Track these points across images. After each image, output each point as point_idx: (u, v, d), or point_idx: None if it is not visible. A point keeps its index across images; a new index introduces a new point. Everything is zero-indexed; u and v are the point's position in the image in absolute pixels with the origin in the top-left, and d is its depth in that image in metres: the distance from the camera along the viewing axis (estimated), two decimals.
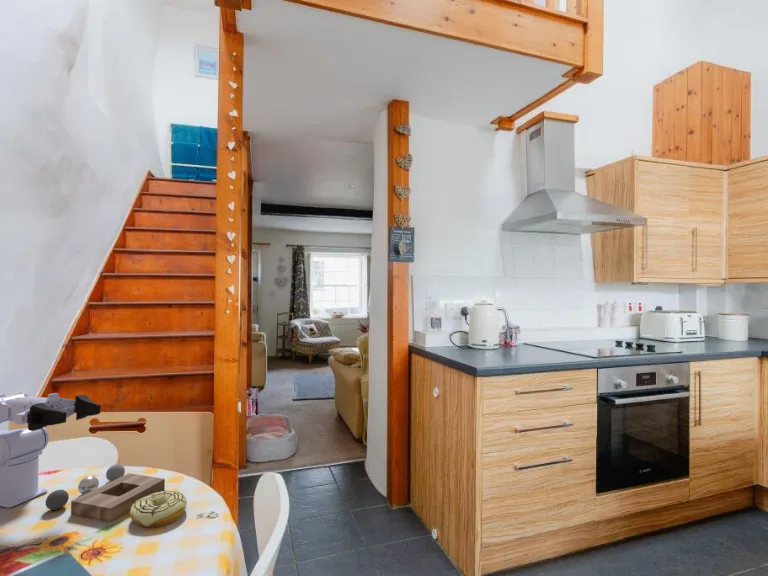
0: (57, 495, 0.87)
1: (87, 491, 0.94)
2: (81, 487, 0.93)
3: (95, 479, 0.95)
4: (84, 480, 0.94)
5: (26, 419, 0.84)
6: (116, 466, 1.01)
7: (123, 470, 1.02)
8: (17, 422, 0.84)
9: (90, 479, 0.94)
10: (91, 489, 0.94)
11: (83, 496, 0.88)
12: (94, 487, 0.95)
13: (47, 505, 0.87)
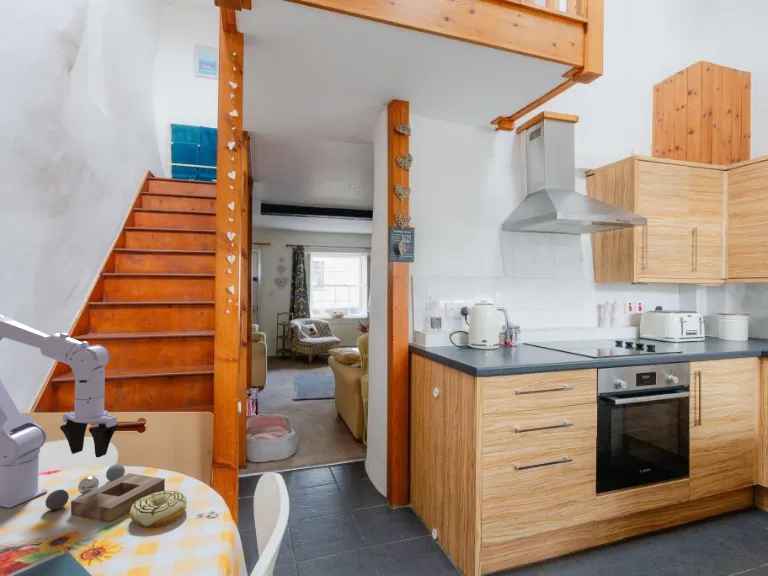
0: (57, 495, 0.87)
1: (87, 491, 0.94)
2: (81, 487, 0.93)
3: (95, 479, 0.95)
4: (84, 480, 0.94)
5: None
6: (116, 466, 1.01)
7: (123, 470, 1.02)
8: (110, 422, 0.93)
9: (90, 479, 0.94)
10: (91, 489, 0.94)
11: (83, 496, 0.88)
12: (94, 487, 0.95)
13: (47, 505, 0.87)
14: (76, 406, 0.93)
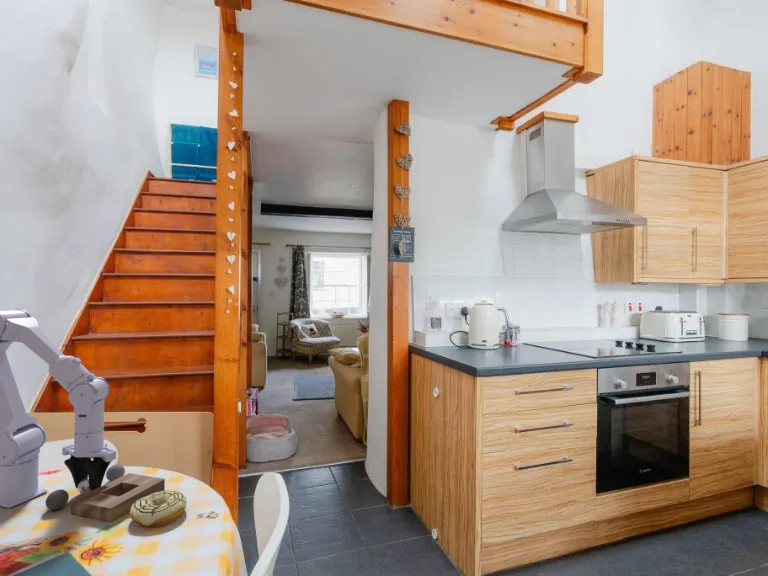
0: (57, 495, 0.87)
1: (87, 491, 0.94)
2: (81, 487, 0.93)
3: None
4: (84, 480, 0.94)
5: None
6: (116, 466, 1.01)
7: (123, 470, 1.02)
8: (109, 456, 0.93)
9: None
10: None
11: (83, 496, 0.88)
12: None
13: (47, 505, 0.87)
14: (75, 441, 0.93)
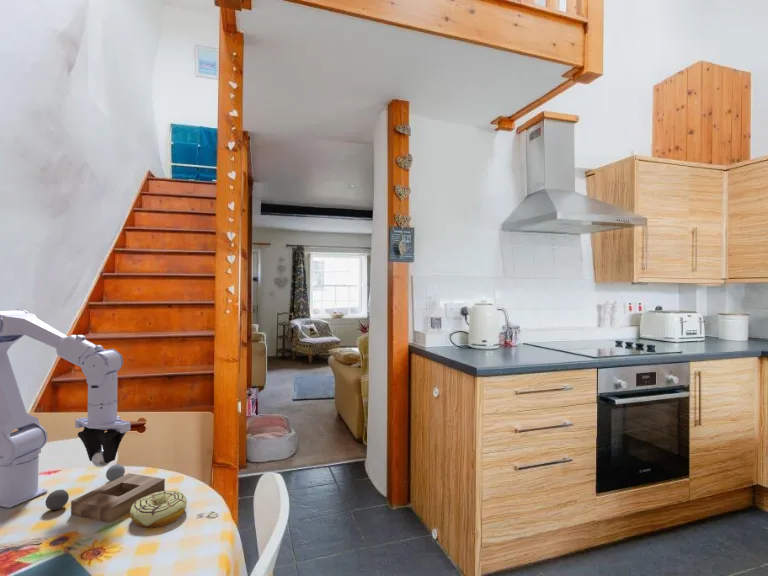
0: (57, 495, 0.87)
1: (101, 463, 0.92)
2: (95, 459, 0.92)
3: None
4: (98, 452, 0.93)
5: None
6: (116, 466, 1.01)
7: (123, 470, 1.02)
8: (124, 427, 0.91)
9: None
10: None
11: (83, 496, 0.88)
12: None
13: (47, 505, 0.87)
14: (89, 412, 0.91)
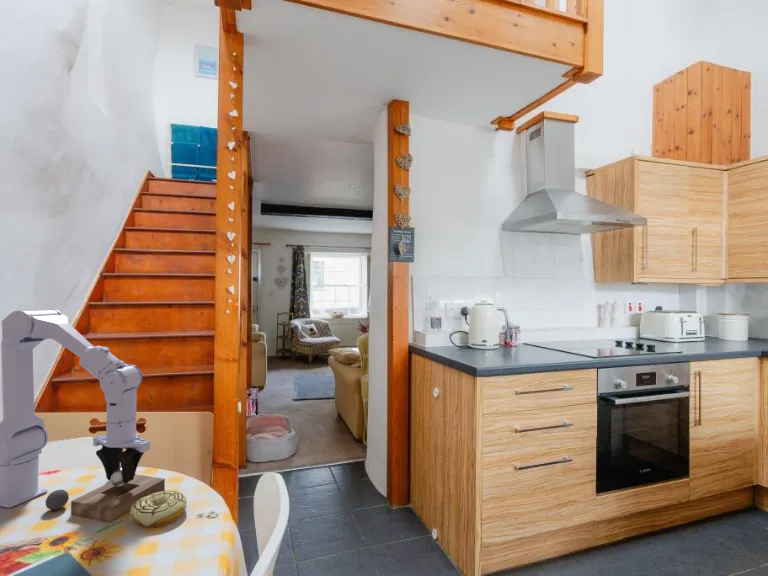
0: (57, 495, 0.87)
1: (120, 483, 0.90)
2: (114, 478, 0.89)
3: None
4: (117, 471, 0.90)
5: None
6: None
7: None
8: (144, 446, 0.89)
9: None
10: None
11: (83, 496, 0.88)
12: None
13: (47, 505, 0.87)
14: (108, 430, 0.89)
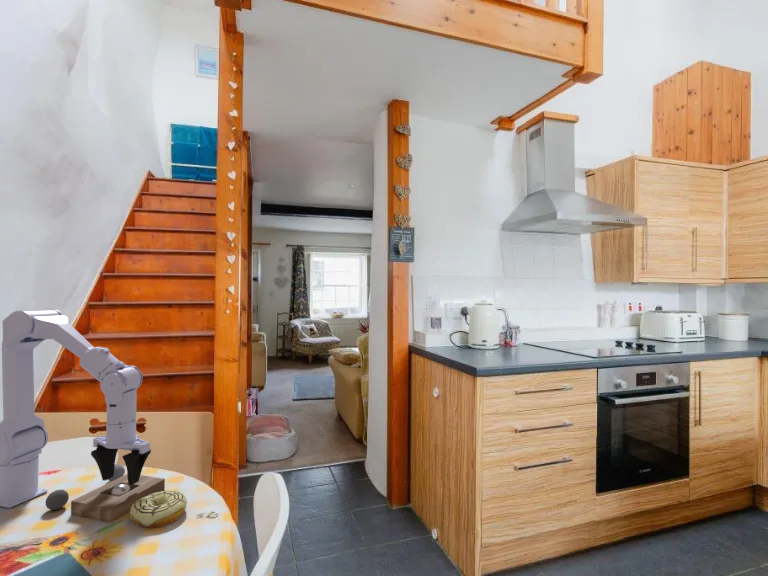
0: (57, 495, 0.87)
1: None
2: (114, 495, 0.89)
3: (128, 487, 0.91)
4: (117, 488, 0.90)
5: None
6: (116, 466, 1.01)
7: (123, 470, 1.02)
8: (144, 448, 0.89)
9: (123, 487, 0.91)
10: None
11: (83, 496, 0.88)
12: None
13: (47, 505, 0.87)
14: (108, 431, 0.89)
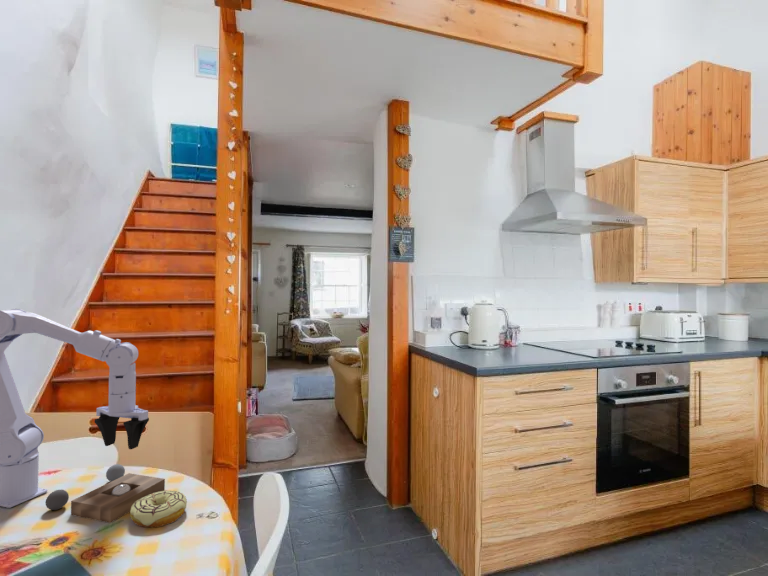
0: (57, 495, 0.87)
1: None
2: (115, 495, 0.89)
3: (128, 488, 0.91)
4: (118, 488, 0.90)
5: None
6: (116, 466, 1.01)
7: (123, 470, 1.02)
8: (142, 415, 0.98)
9: (124, 488, 0.90)
10: None
11: (83, 496, 0.88)
12: None
13: (47, 505, 0.87)
14: (110, 400, 0.98)
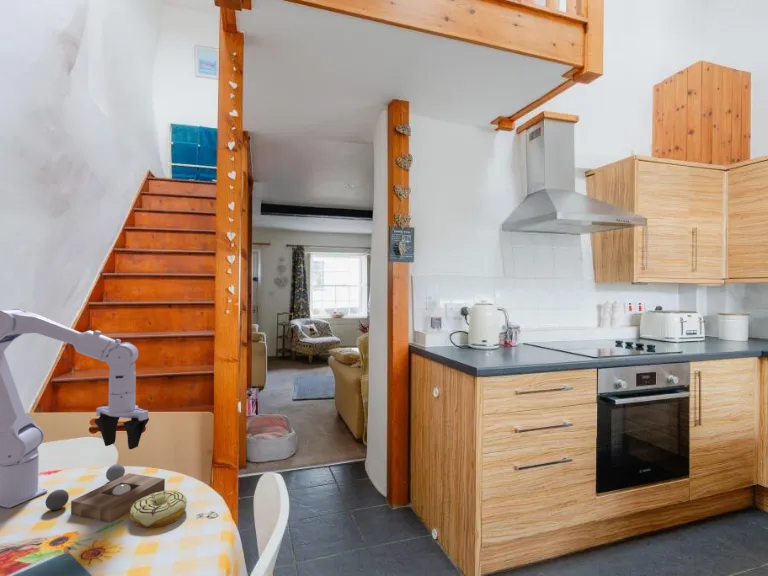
0: (57, 495, 0.87)
1: None
2: (115, 495, 0.89)
3: (129, 488, 0.91)
4: (118, 489, 0.90)
5: None
6: (116, 466, 1.01)
7: (123, 470, 1.02)
8: (142, 415, 0.98)
9: (124, 488, 0.90)
10: None
11: (83, 496, 0.88)
12: None
13: (47, 505, 0.87)
14: (110, 400, 0.98)
